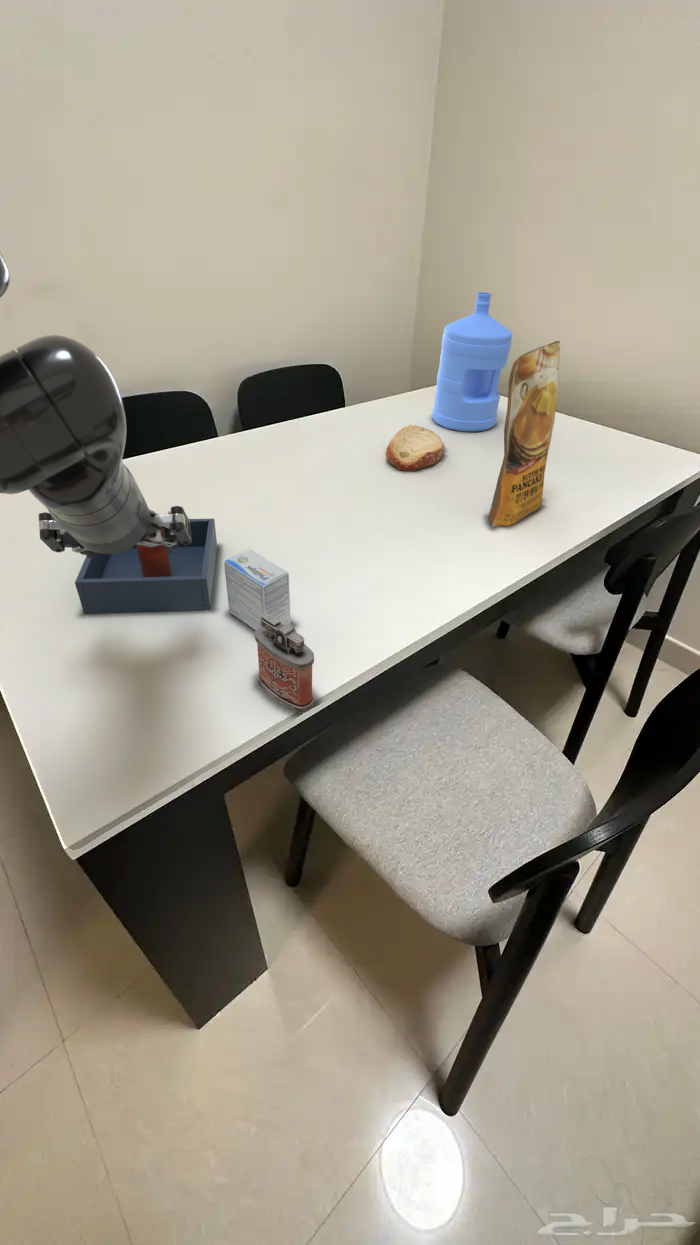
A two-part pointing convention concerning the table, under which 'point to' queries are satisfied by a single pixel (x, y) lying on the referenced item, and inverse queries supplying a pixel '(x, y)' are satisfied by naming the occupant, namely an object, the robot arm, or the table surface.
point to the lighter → (284, 664)
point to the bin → (152, 578)
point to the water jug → (471, 370)
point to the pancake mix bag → (526, 435)
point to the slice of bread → (414, 448)
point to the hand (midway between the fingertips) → (131, 547)
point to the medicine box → (256, 589)
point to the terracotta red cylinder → (154, 561)
